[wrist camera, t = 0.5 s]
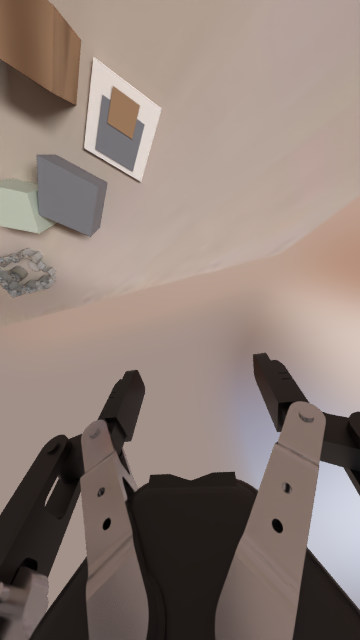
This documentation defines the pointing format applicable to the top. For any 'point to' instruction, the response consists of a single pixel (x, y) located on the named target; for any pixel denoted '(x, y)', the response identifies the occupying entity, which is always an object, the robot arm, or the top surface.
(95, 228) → the charcoal block
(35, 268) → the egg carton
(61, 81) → the walnut block
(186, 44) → the top surface
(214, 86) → the top surface
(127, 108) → the tile
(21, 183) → the sage block
